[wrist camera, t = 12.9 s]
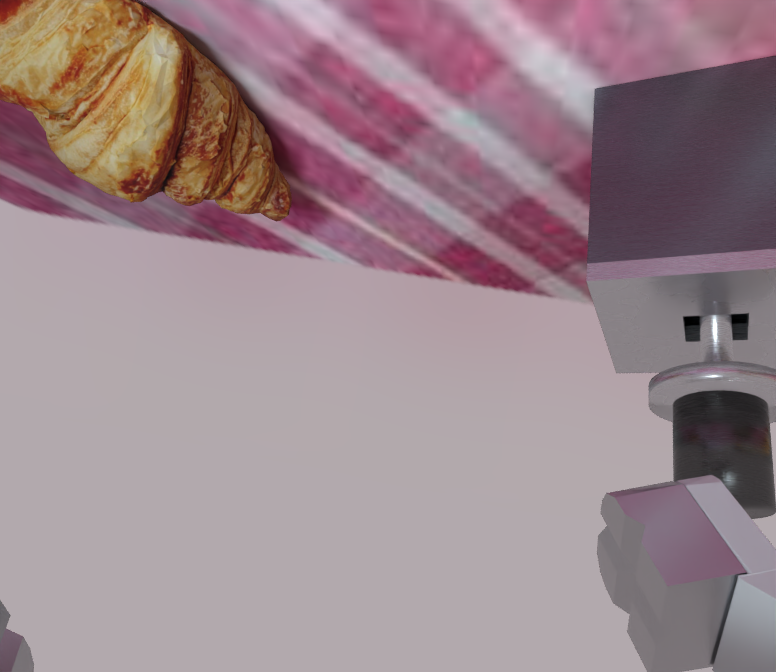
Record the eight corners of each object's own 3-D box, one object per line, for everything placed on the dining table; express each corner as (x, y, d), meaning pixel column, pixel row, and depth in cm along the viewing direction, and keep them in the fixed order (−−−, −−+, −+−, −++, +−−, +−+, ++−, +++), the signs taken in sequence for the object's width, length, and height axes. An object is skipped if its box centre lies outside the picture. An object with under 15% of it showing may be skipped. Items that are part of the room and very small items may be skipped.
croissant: (-80, -120, 31) (-176, 30, 31) (-76, -202, 23) (-206, 0, 23) (282, 154, 44) (219, 263, 43) (366, 163, 36) (289, 296, 35)
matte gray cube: (619, 207, 38) (616, 373, 34) (595, 88, 31) (586, 281, 27) (894, 176, 33) (929, 368, 29) (940, 25, 26) (996, 252, 22)
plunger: (653, 215, 35) (654, 518, 29) (643, 148, 31) (642, 485, 25) (770, 203, 33) (799, 529, 27) (776, 129, 29) (812, 494, 22)
